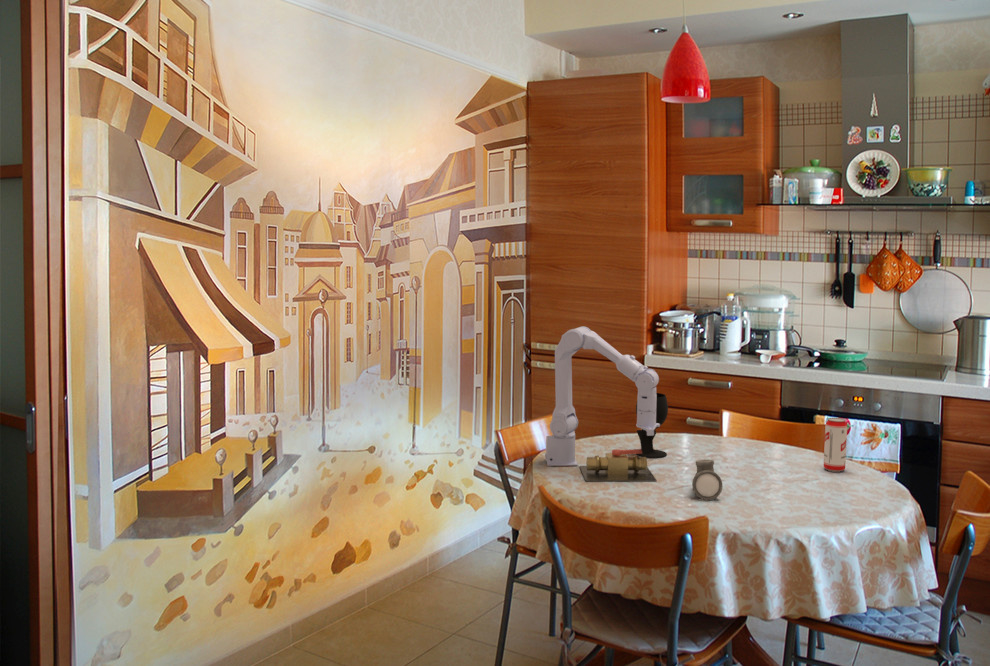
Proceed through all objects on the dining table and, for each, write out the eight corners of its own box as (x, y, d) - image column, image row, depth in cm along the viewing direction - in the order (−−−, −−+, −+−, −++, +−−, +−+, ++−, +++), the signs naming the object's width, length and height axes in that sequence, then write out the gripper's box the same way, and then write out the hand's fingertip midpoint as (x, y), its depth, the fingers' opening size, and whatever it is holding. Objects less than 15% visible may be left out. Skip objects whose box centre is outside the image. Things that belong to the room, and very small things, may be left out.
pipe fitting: (723, 500, 233) (721, 462, 233) (693, 500, 235) (691, 463, 235) (720, 492, 245) (718, 456, 245) (691, 492, 247) (689, 457, 247)
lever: (613, 455, 259) (613, 447, 258) (610, 453, 261) (611, 445, 261) (650, 454, 261) (650, 446, 260) (646, 451, 263) (647, 443, 263)
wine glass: (647, 459, 276) (649, 398, 274) (628, 452, 285) (629, 393, 283) (673, 455, 281) (674, 396, 278) (653, 448, 290) (655, 391, 288)
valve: (585, 482, 252) (586, 463, 251) (579, 467, 268) (579, 449, 267) (656, 481, 252) (656, 463, 252) (646, 466, 268) (646, 449, 267)
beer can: (845, 468, 266) (848, 418, 264) (844, 473, 260) (847, 422, 258) (824, 466, 268) (826, 416, 266) (822, 471, 263) (824, 420, 261)
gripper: (664, 414, 251) (663, 459, 253) (655, 404, 266) (654, 447, 267) (640, 414, 251) (639, 459, 253) (632, 404, 266) (632, 447, 267)
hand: (645, 453), depth 260 cm, fingers closed, pressing on lever
